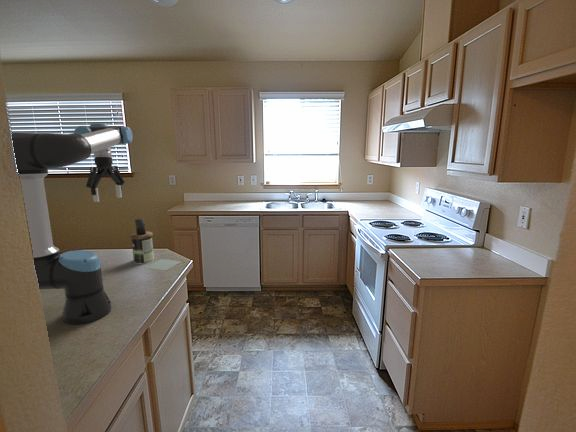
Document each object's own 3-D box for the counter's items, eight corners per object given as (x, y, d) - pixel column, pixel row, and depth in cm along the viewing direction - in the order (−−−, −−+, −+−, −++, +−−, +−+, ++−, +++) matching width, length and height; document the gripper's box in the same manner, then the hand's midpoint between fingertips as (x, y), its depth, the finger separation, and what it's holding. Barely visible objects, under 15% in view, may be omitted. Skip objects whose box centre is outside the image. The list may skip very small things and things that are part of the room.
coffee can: (133, 265, 161) (130, 239, 158) (133, 259, 170) (131, 234, 167) (154, 262, 165) (152, 237, 162) (154, 256, 175) (151, 232, 172)
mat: (165, 271, 154) (165, 270, 154) (144, 268, 158) (144, 267, 158) (181, 262, 166) (181, 261, 166) (161, 259, 170) (161, 258, 170)
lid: (142, 239, 158) (140, 222, 156) (125, 238, 161) (123, 220, 159) (157, 234, 168) (155, 217, 166) (140, 232, 172) (139, 216, 170)
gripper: (85, 157, 138) (92, 204, 142) (129, 155, 161) (133, 196, 166) (73, 157, 140) (79, 203, 145) (117, 155, 163) (122, 195, 168)
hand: (108, 199), depth 155 cm, fingers open, 13 cm apart
